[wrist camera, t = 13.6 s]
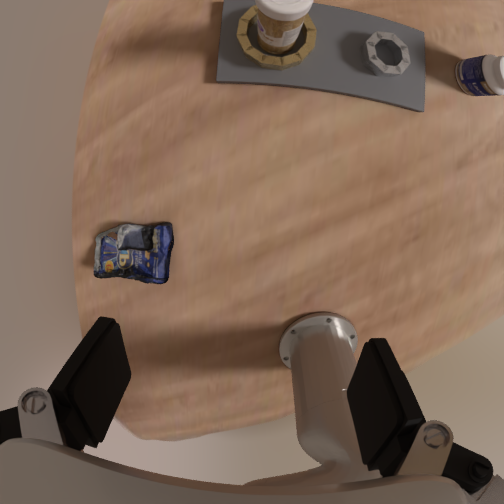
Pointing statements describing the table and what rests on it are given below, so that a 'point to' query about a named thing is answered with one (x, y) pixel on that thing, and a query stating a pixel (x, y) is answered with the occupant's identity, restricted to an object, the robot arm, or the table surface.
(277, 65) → the brass collar
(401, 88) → the mounting board
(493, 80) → the pill bottle
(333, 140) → the table surface
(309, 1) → the sprinkles bottle
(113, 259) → the snack package
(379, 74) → the steel collar
